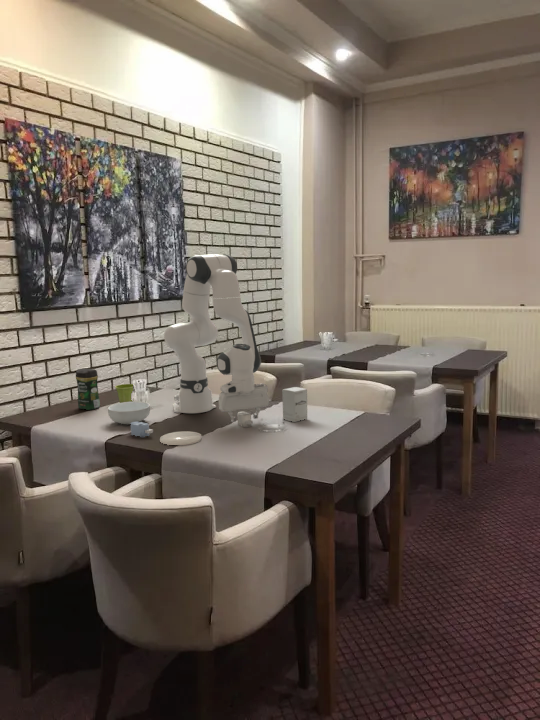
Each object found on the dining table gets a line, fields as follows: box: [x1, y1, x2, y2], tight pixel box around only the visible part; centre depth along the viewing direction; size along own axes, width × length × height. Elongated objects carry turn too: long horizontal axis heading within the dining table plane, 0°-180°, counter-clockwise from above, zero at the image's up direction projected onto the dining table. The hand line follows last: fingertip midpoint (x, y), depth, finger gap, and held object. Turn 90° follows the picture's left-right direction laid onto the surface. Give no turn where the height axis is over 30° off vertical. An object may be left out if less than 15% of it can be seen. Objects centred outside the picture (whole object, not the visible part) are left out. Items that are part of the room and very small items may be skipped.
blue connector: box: [130, 421, 154, 438], centre depth 218 cm, size 10×4×4 cm, turn 54°
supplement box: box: [281, 386, 308, 423], centre depth 234 cm, size 7×7×13 cm
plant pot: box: [114, 383, 133, 403], centre depth 272 cm, size 9×9×9 cm
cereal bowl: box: [107, 400, 151, 425], centre depth 238 cm, size 17×17×7 cm
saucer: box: [159, 430, 202, 446], centre depth 211 cm, size 15×15×1 cm
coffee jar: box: [75, 367, 101, 411], centre depth 265 cm, size 10×8×19 cm
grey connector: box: [236, 411, 253, 428], centre depth 228 cm, size 10×4×4 cm, turn 24°
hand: (244, 419), depth 229 cm, fingers open, 8 cm apart
